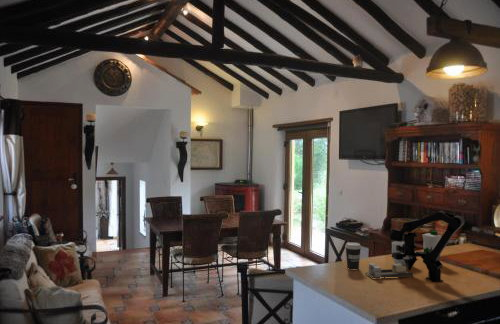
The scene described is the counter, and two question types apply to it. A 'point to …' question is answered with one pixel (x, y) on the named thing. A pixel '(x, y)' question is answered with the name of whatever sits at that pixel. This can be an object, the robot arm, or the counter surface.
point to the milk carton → (430, 241)
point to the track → (384, 272)
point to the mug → (398, 251)
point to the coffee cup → (353, 255)
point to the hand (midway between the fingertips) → (409, 270)
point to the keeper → (398, 268)
